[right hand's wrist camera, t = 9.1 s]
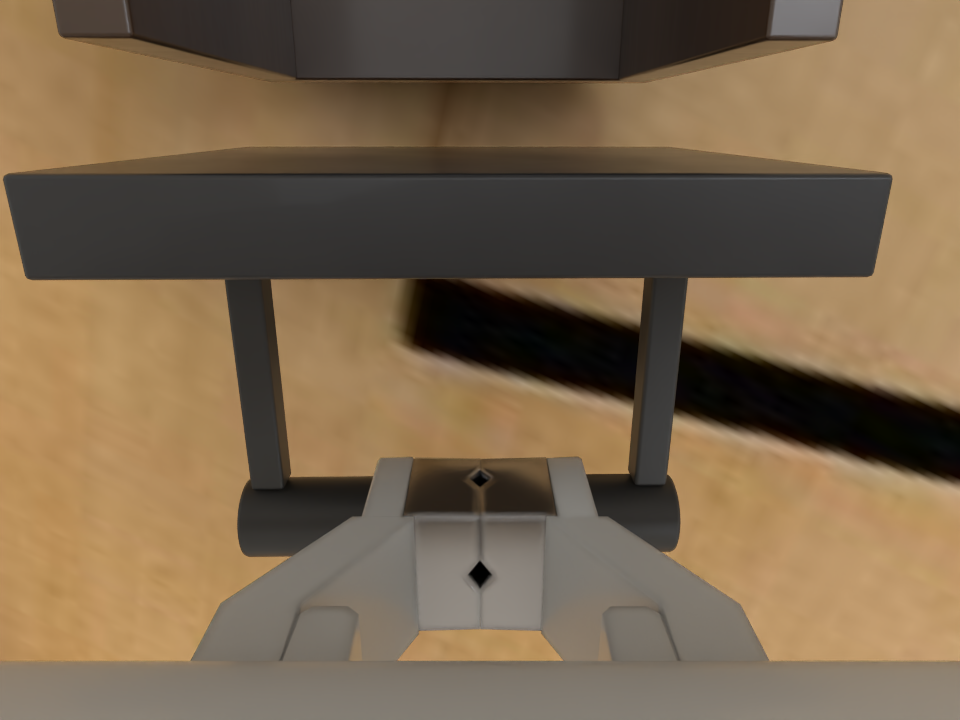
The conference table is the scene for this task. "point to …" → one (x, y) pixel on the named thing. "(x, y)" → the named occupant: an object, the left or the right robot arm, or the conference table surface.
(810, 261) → the drawer
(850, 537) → the conference table surface
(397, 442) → the conference table surface
